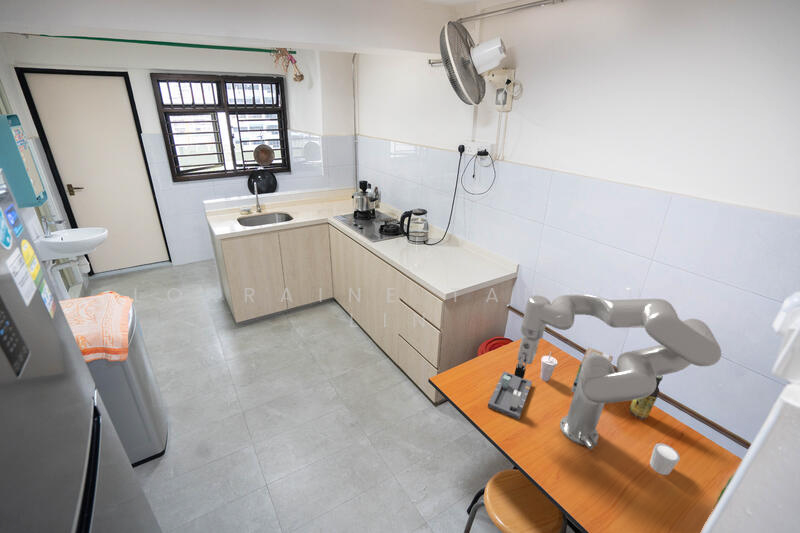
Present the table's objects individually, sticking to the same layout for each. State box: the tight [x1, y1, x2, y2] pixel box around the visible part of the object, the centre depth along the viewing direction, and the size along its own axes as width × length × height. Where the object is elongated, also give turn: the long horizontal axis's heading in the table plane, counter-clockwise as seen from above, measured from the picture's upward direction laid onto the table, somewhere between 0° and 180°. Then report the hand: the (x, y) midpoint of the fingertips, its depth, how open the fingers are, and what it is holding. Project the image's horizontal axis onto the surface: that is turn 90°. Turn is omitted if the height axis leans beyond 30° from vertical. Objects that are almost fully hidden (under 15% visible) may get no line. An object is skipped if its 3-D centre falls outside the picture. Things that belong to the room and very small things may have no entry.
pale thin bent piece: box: [571, 347, 614, 394], centre depth 150 cm, size 15×10×15 cm
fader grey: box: [510, 390, 521, 410], centre depth 137 cm, size 2×3×7 cm
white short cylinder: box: [649, 443, 681, 476], centre depth 118 cm, size 7×7×7 cm
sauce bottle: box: [628, 375, 664, 421], centre depth 136 cm, size 7×6×20 cm
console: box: [487, 371, 533, 421], centre depth 146 cm, size 22×12×2 cm, turn 150°
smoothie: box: [540, 351, 558, 382], centre depth 154 cm, size 6×6×14 cm
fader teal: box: [501, 375, 511, 390], centre depth 147 cm, size 2×3×5 cm
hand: (522, 369), depth 132 cm, fingers open, 9 cm apart
